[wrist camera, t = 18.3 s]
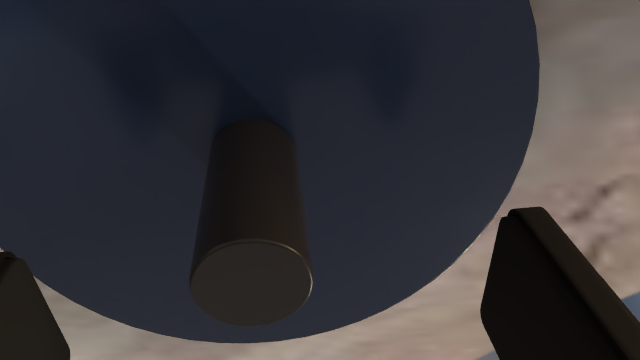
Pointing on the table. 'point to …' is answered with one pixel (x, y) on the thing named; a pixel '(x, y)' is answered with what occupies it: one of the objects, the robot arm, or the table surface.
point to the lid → (257, 153)
